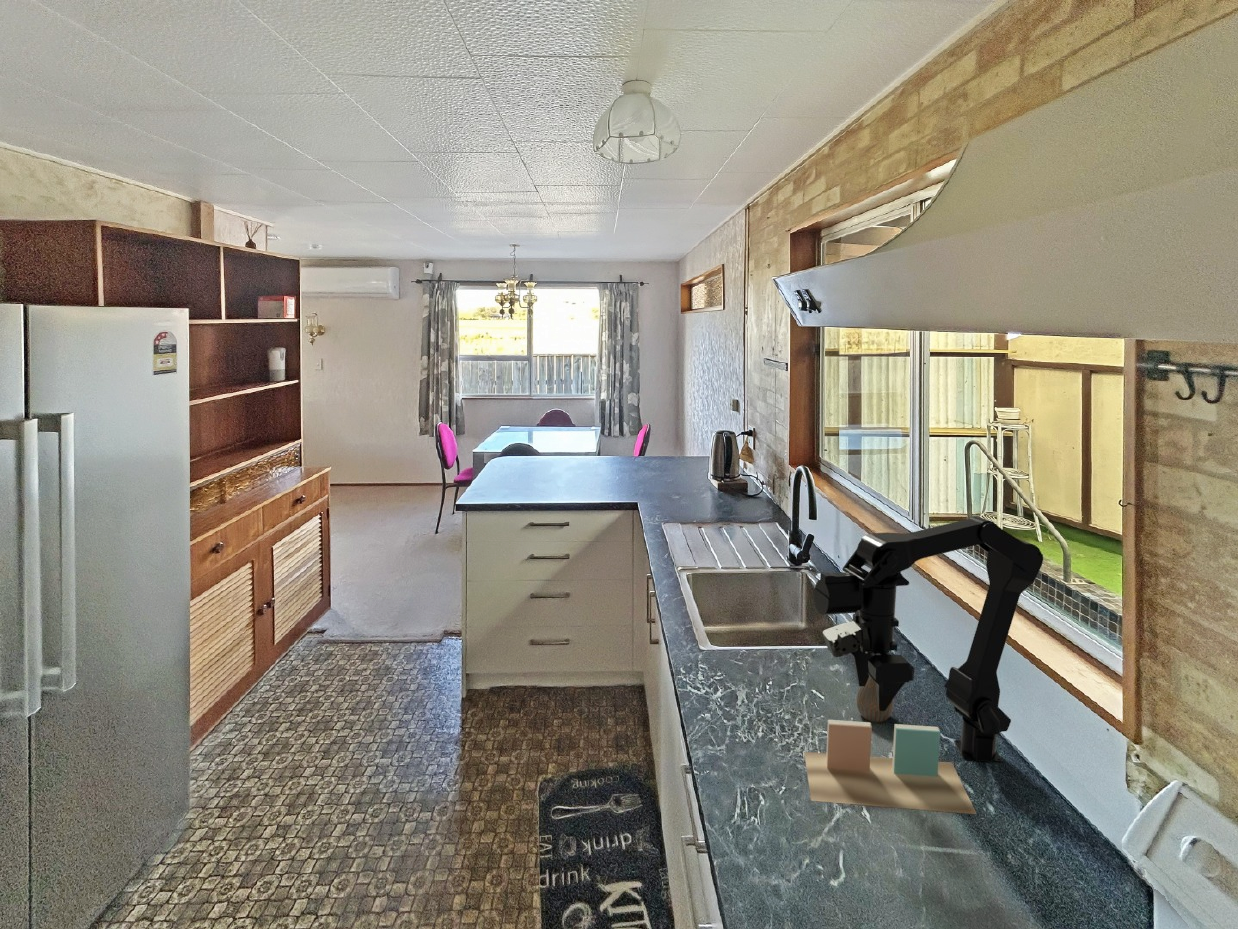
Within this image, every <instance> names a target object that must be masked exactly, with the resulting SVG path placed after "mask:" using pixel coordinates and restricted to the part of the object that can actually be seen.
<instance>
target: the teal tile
mask: <svg viewBox="0 0 1238 929" xmlns="http://www.w3.org/2000/svg"><path fill="white" fill-rule="evenodd" d="M893 728H894V729H893V745H892V746H893V747H892V758H893V760H892V769H893V772H894V773H897V774H911V775H924V776H938V762H940V761H939V759H940V758H939V756H940V746H941V745H940V744H941V742H940V741H941V731H940V728H939V727H938V726H928V725H916V724H915V725H913V724H900V723H894V727H893Z"/></svg>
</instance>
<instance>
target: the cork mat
mask: <svg viewBox="0 0 1238 929" xmlns="http://www.w3.org/2000/svg"><path fill="white" fill-rule="evenodd" d="M803 753H804V754H803V755H804V760H805V766H806V767H805V768H806V775H807V781H808V788H809V794H810V801H811V802H820V803H822V802H823V803H832V804H833V803H834V804H835V803H836V804H844V805H845V804H846V805H856V806H857V805H859V806H869V807H883V808H892V809H903V810H904V809H908V810H915V811H917V810H918V811H930V812H942V813H955V814H965V815H966V814H967V815H977V812H976V810H975V807H974V805H973V803H972V801H971V799H970V797H969V795H968V794H967V791H966V789H965V787H964V785H963V783H962V781H961V778H960V776H959V775H958V772H957V770H956V768H955V766H954V764H953V763H952V762H950V761H949V762H948V761H938V776H924V775H911V774H897V773H894V772H893V769H892V760H893V757H880V756H870V771H858V770H844V769H831V768H827V765H826V753H827V752H824V753H823V752H811V751H810V752H809V751H804V752H803Z"/></svg>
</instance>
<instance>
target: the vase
mask: <svg viewBox="0 0 1238 929" xmlns="http://www.w3.org/2000/svg"><path fill="white" fill-rule="evenodd" d="M894 699H895V698H894ZM894 699H893V700H892V702H891V703H890V705H889V706H888V708H887V709H886V711H879V710H878V703H877V692H876V682H875V681H874V680H873V679H872V678H871V677H870V676H869V679H868V681H867V683H866V686H859V688H858V690H857V693H856V700H855V701H856V707H857V709H858V710H857V711H858V712H859V715H861V717H862V718H863V719H865V720H866V721H869V722H873V723H882V722H885V721H887V720H888V719H889V718H890V717H891V715H892V714H893V710H894V706H895V705H894V704H895V700H894Z"/></svg>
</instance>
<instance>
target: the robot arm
mask: <svg viewBox="0 0 1238 929" xmlns="http://www.w3.org/2000/svg"><path fill="white" fill-rule="evenodd" d="M974 546H978V547H979V548H981V549H982V550H983V551H984V552H986V553H987V556H986V557H987V558H986V565H985V568H986V573H987V576H988V582H989V585H988V588H987V589H988V590H987V593H986V595H985V596H986V597H985V599H984V602H983V606H982V608H981V611H980V612H981V613H980V616H979V619H978V622H977V626H976V628H975V629H976V630H975V632H974V635H973V639H972V642H971V646H970V649H969V652H968V656H967V659H966V661H965V662H964V663H963V664H962V665H960V667H958V668H957V667H955V666H951V667H950V669H949V672H948V678H947V681H946V682H945V684H944V686H943V687H944V688H945V689H946V691H945V692H946V693H945V696H946V698H947V700H948V703H950V704H951V705H952V707H953V708H952V709H953V711H954V712H956V713H957V714H959V715H960V716H961V717H962V721H961V722H962V723H961V734H960V739H955V740H954V742H953V743H954V745H955V746H956V748H957V750H958V752H959V754H960V756H961V758H962V759H963V761H964V760H965V761H973V762H986V763H997V764H999V763H1000V764H1001V763H1002V762H1003V759H1002V757H1001V756H1000V754H999V752H998V751H997V742H998V741H997V738H998V735H1000V734H1001V733H1002V732H1007V731H1008V730H1009V728H1010V725H1011V724H1012V719H1011V718H1010V717H1009V716H1008V715H1007V713H1005V712H1004V711H1003V710H1002V709H1000V707H999V702H1000V695H1001V689H1000V684H999V678H998V668H999V665H1000V661H1001V658H1002V656H1003V651H1004V649H1005V645H1006V642H1007V639H1008V635H1009V632H1010V630H1011V626H1012V622H1013V619H1014V617H1015V616H1014V615H1015V613H1016V609H1017V606H1018V603H1019V600H1020V596H1021V594H1022V593H1023V592H1024V591H1025V590H1026V589H1028V588H1029V587H1030V586H1031V585H1033V583H1034V582H1035V581H1036V579H1037V576H1038V575H1039V572H1040V570H1041V568H1042V566H1043V563H1044V554H1043V553H1042V551H1041V549H1040V547H1038V546H1037V545H1035V544H1033V543H1032V542H1027V541H1026V540H1022V539H1020V538H1017V537H1015V536H1014V535H1012V534H1011V533H1008V532H1007V531H1006V530H1004V529H1002V528H1001V527H1000V526H999V525H998V524H996V523H995V522H994V521H991V520H990V519H986V518H984V517H981V516H978V515H973V516H969V517H967V518H965V519H962V520H958V521H957V520H956V521H954V522H949V523H946V524H941V525H937V526H933V527H928V528H924V529H920V530H916V531H913V532H906V533H905V532H904V533H903V532H902V533H898V532H874V533H873V532H872V533H868V534H865V535H863V536H862V537H861V540H860V541H859V543H858V544H857V548H856V549H855V551H853V554H852V555H851V556H850V557H849V559H848V560H847V561H846V563H845V565H844V566H843V567H842V572H821V573H820V576H819V579H818V580H817V581H816V583H815V586H814V587H813V591H812V593H813V594H812V595H813V603H814V606H815V609H816V612H817V613H818V614H819V615H821V616H826V615H828V616H829V615H842V614H852V620H851V621H849V622H842V623H840V624H837V625H834V626H832V627H829V628H826V629H824V630H823V631H822V635H823V640H824V642H825V644H826V645H825V646H826V648H827V650H828V651H829V652H830V653H831V655H832V656H833V657H834V658H840V657H843V656H846V655H850V654H851V656H852V657H851V658H852V661H853V665H854V671H855V674H856V680H857V683H858V684H857V685H858V686H859V687H860V686H866V683H867V681H868V679H869V676H870V677H871V678H872V679H873V680H874V681H875V682H876V692H877V703H878V710H879V711H886V709H887V708H888V706H889V705H890V703H891V702H892V700H893V699H895V697H896V696H897V694H898V693H899V691H900V690H901V689H902V687H903V686H904V685H905V684H906V683H909V682H911V681H913V680H914V678H915V666H913V665H912V664H911V663H910V662H909V661H908V660H907V659H906V658H905V657H904V656H903V655H902V654H890V651H898V643H896V642H895V641H894V633H895V629H894V628H898V627H899V626H900V625H899V624H900V621H899V619H898V618H896V615H895V614H896V613H895V612H896V602H897V601H896V599H897V598H896V597H897V587H904V586H905V587H906V586H909V585H910V581H909V580H908V579H906V578H905V577H904V575H903V574H902V572H904V571H905V570H908V569H910V568H911V567H912V566H913V565H914V564H915V563H916V562H918V561H921V560H922V559H926V558H930V557H934V556H938V555H942V554H947V553H951V552H955V551H959V550H962V549H966V548H971V547H974ZM863 566H865V567H866V568H869V569H870V570H869V571H868V570H866V569H865V568H863Z"/></svg>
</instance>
